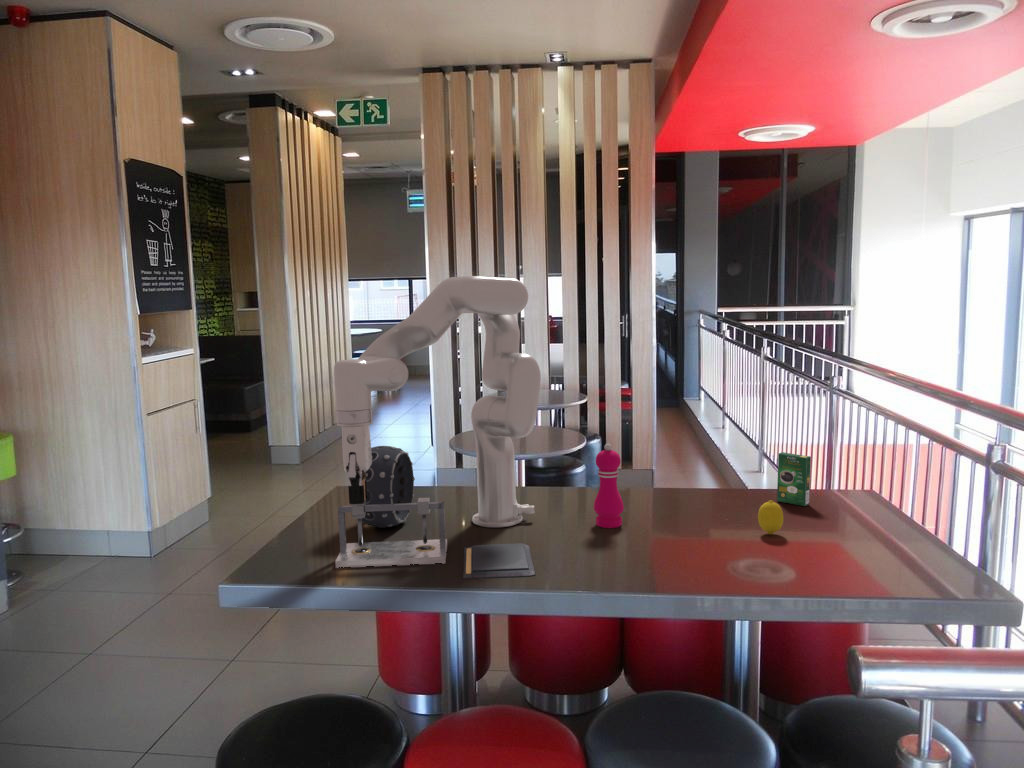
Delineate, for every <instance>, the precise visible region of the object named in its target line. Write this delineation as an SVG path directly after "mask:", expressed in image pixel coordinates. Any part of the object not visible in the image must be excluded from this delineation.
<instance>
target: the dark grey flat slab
mask: <svg viewBox="0 0 1024 768" xmlns="http://www.w3.org/2000/svg"><path fill="white" fill-rule="evenodd" d="M463 563H464V571H462V579H463V580H469V579H468V578H472V579H471V580H479V578H481V579H482V580H483V579H509V578H510V579H511V578H530V577H531V578H532V577H536V570H535V566H534V562H533V558H532V553H531V547H530V545H528V544H525V543H524V542H518V543H497V544H496V543H495V544H493V543H492V544H477V545H476V544H475V545H474V544H473V545H471V546H469V547H468V546H467V547H466V546H465V547H464V548H463ZM463 572H464V573H463ZM481 579H480V580H481Z"/></svg>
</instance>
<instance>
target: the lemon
mask: <svg viewBox="0 0 1024 768" xmlns="http://www.w3.org/2000/svg"><path fill="white" fill-rule="evenodd" d="M757 520H758V524H759V527H760V528H761V529H762V530H763V531H764V532H767V534H768V535H773V534H774V533H776V532H778V531H780V530H781V528H782V527H783V525H784V520H785V519H784V512H783V509H782V507H781V506H780V504H778V503H777V502H775V501H773V500H772V499H771V500H770V499H769V500H768V501H766V502H764V503H763V504H762V505H760V507H759V509H758V513H757Z"/></svg>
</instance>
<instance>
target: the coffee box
mask: <svg viewBox="0 0 1024 768" xmlns="http://www.w3.org/2000/svg"><path fill="white" fill-rule="evenodd" d="M811 459H812V456H810V455H802V454H796V453H789V452H782V451H781V452H779V453H778V459H777V461H778V462H777V488H776V489H777V493H776V501H777V502H780V503H785V504H789V505H796V506H799V507H800V506H801V507H802V506H803V507H806V506H810V505H809V504H810V488H811V487H810V486H811V466H812V465H811V464H812V463H811V462H812V460H811Z"/></svg>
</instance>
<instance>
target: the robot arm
mask: <svg viewBox="0 0 1024 768" xmlns="http://www.w3.org/2000/svg"><path fill="white" fill-rule="evenodd" d="M528 302H529V292H528V289H527V287H526V286H525V284H524V283H523V282H522V281H520V280H518V279H517V278H510V277H509V278H508V277H489V276H479V275H478V276H477V275H467V276H451V277H448V278H446V279H444V280H442V281H440V283H439V284H438V285H436V287H435V288H434V289H433V290H432V291H431V292H430V293H429V294H428V295H427V296H426V298H425V299H424V300H423V301H422V302H421V304H420V305H418V306H417V307H416V308H415V309H414V310H413V312H411V314H410V315H409V316H407V317H406V318H404V319H403V320H401V321H400V322H399V323H397V324H396V325H394V326H393V327H391V328H389V330H387V331H384V332H383V333H382V334H381V335H379V336H378V337H377V338H375V340H374V341H373V342H372V343H370V345H369V346H368V347H366V349H365V350H364V351H363V352H362V353H361V354H360V356H359V357H358V358H355V359H353V358H352V359H341V360H338V361H336V362H335V363H334V365H333V378H334V379H333V380H334V381H333V382H334V395H335V396H334V398H335V399H334V401H335V414H336V417H335V418H336V426H338V427H341V443H342V445H341V446H342V464H343V465H342V466H343V470H344V472H346V473H348V478H347V479H348V501H349V502H348V503H349V505H351V504H364V502H365V498H364V485H362V477H365V493H366V498H367V480H366V471H367V470H368V469H369V468H370V466H371V464H372V453H371V448H372V443H371V433H370V425H372V424H373V409H372V392H395V391H397V390H399V389H401V388H402V387H403V386H404V385H406V383H407V381H408V379H409V369H408V367H407V365H406V364H405V362H404V361H402V358H404V357H406V356H408V355H409V354H411V353H414V352H416V351H419V350H420V351H421V350H424V349H425V348H427V347H430V346H432V345H434V344H435V343H437V342H438V341H439V340H440V339H441V338H442V337H443V336H444V334H445V333H446V332H447V331H448V330H449V328H450V327H451V326H452V325H453V324H454V323H455V322H456V321H457V320H458V318H460V317H461V316H462V315H463V314H477V315H478V316H479V318H480V319H481V321H482V323H483V325H484V329H485V344H484V351H483V352H484V353H483V360H482V369H481V379H482V382H483V384H484V386H486V387H487V388H489V389H491V390H495V391H500V392H506V396H503V395H501V396H500V395H485V396H483V397H480V398H479V399H478V400H477V401H475V403H474V404H473V406H472V408H471V413H470V414H471V415H470V419H471V424H472V426H471V427H472V430H473V434H474V439H475V447H476V448H475V450H476V481H477V483H476V484H477V486H476V487H477V510H478V512H477V513H475V514H474V515H472V517H471V518H472V519H471V520H472V523H473V524H474V525H476V526H479V527H484V528H505V527H512V526H516V525H517V524H520V523H521V522H523V520H524V519H523V514H535V505H529V504H528V503H527V504H520V503H518V500H517V495H516V488H517V487H516V463H515V462H516V461H515V459H516V455H515V447H514V442H513V440H512V438H513V439H521V438H525V437H527V436H529V435H530V434H531V432H532V431H533V429H534V427H535V424H536V420H537V415H538V407H539V406H538V405H539V398H540V390H541V379H542V378H541V376H542V375H541V370H540V366H539V363H538V361H537V360H536V359H535V358H534V357H533V356H532V355H530V354H527V353H521V352H520V342H521V341H520V339H521V332H520V327H519V326H520V325H519V323H518V321H517V319H516V317H515V315H517V314H520V313H521V312H522V311H524V309H525V308H526V306H527V304H528Z"/></svg>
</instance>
